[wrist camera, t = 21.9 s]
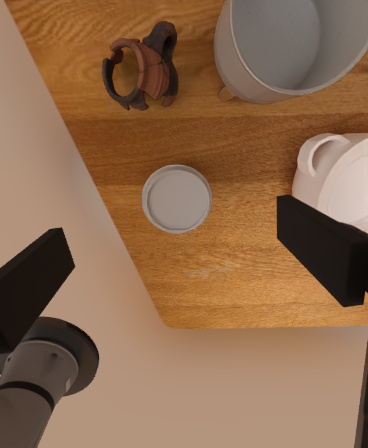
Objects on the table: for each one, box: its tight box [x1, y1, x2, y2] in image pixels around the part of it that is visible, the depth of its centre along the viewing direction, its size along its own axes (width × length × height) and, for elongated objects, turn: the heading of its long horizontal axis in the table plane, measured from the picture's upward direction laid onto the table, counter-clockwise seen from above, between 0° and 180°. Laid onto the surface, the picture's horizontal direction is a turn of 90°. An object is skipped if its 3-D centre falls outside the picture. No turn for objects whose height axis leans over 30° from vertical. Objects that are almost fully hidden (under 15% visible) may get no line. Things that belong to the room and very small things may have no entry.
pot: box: [292, 133, 368, 233], centre depth 38 cm, size 22×17×12 cm
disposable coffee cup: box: [141, 164, 212, 233], centre depth 38 cm, size 10×10×12 cm
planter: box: [214, 0, 368, 104], centre depth 29 cm, size 13×13×18 cm
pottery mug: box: [102, 21, 178, 111], centre depth 35 cm, size 12×10×8 cm
